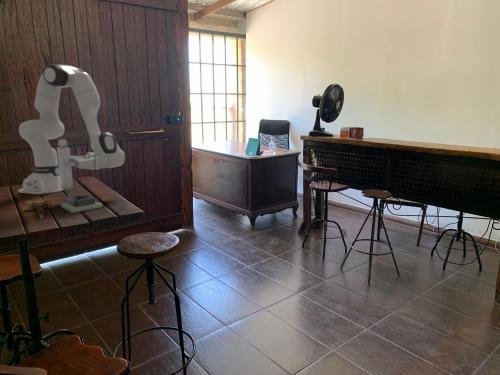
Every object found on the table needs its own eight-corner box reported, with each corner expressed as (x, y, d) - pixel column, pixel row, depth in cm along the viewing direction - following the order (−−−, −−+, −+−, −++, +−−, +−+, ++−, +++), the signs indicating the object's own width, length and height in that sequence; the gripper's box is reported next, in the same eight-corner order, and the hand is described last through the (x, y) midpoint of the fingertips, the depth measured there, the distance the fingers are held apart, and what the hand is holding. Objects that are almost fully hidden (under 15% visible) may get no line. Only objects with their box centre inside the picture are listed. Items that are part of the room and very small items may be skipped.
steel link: (70, 187, 189) (66, 138, 184) (73, 189, 186) (69, 139, 180) (60, 188, 186) (56, 139, 181) (63, 190, 183) (58, 139, 178)
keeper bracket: (90, 201, 190) (89, 187, 189) (103, 207, 180) (101, 192, 179) (61, 206, 181) (59, 192, 179) (72, 212, 171) (70, 197, 169)
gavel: (54, 211, 163) (27, 214, 158) (55, 221, 164) (28, 224, 159) (51, 197, 180) (26, 200, 175) (52, 206, 182) (27, 209, 177)
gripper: (84, 152, 198) (56, 154, 190) (99, 157, 183) (68, 159, 175) (85, 164, 200) (57, 166, 191) (100, 170, 185) (69, 173, 176)
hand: (62, 163), depth 183 cm, fingers closed on steel link, 4 cm apart
